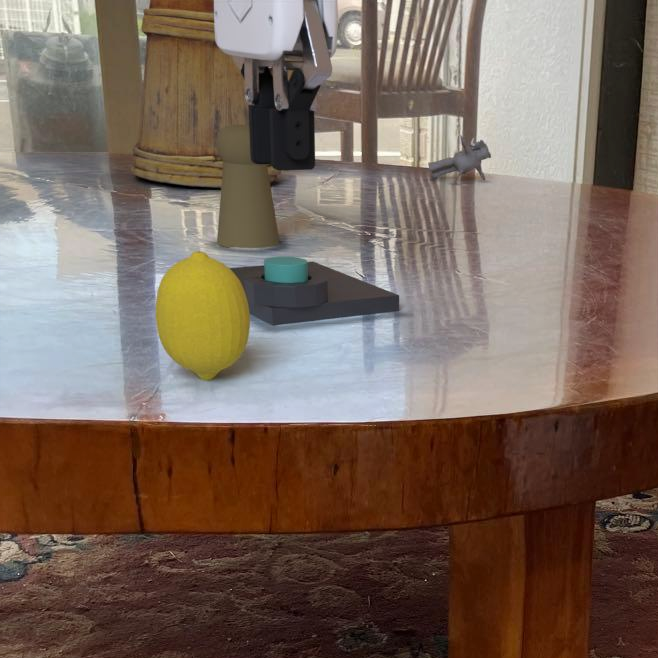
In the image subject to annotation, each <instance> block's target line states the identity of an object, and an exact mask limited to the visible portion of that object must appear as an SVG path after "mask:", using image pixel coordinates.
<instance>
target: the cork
mask: <svg viewBox="0 0 658 658" xmlns="http://www.w3.org/2000/svg"><path fill="white" fill-rule="evenodd" d="M216 148H217V151H218V154H219V156H220V157H221V159H222V160H223V171H222V185H221V188H220V199H219V210H218V211H219V212H218V226H217V236H216V237H217V239H216V244H217V245H218V246H221V247H223V248H224V247H225V248H239V249H240V248H241V249H242V248H243V249H263V248H272V247H276V246H278V245H280V244H281V242H280V235H279V231H278V224H277V217H276V211H275V205H274V199H273V193H272V192H273V191H272V187H271V186H272V185H270V180H269V173H268V167H267V164H255V163H253V162H252V161H251V156H250V133H249V125H230V126H226V127H223V128H222V129H220V131H219V132H218V134H217V138H216Z"/></svg>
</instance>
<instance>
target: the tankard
mask: <svg viewBox="0 0 658 658" xmlns="http://www.w3.org/2000/svg"><path fill="white" fill-rule="evenodd" d="M148 6H149V7H148V8H144V9H143V16H142V23H141V27H140V29H141V32H142V33H143V34H144V35H146V41H145V56H144V69H143V70H144V71H143V83H142V96H141V109H140V119H139V130H138V140H137V142H135V144H134V146H132V149H131V151H132V153H133V154H132V156H131V157H132V158H131V161H132V165H131V168H130V172H131V174H132V175H134V176H135V177H138V178H142V179H144V180H148V181H153V182H157V183H162V184H171V185H179V186H184V187H185V186H186V187H194V188H207V189H209V188H210V189H221V185H222V171H223V160H222V159H221V157H220V156H219V154H218V151H217V148H216V138H217V134H218V132H219V131H220V129H222V128H223V127H226V126H230V125H249V110H248V105H254V104H248V103H247V102H246V99H245V80H244V78H243V76H242V74H241V71H240V70H239V69H238V67H237V66H236V65H235V64H234V62H233V58H232V55H228V54H226V53H224V52H223V51H222V50H221V49H220V48H219V47H218V45H217V44H216V41H215V28H214V0H149V5H148ZM287 61H303V60H297V59H290V58H287ZM269 69H270V71H271V74H272V76H273V67H269ZM293 71H294V70H288V81H289V79H290V77H291V74H292V72H293ZM267 167H268V173H269V180H270V186H272V185H271V184H273V183H274V182H275V180H276V178H277V177H278V175H281V174H282V170H276V169H274V168H273V167H272V165H271V164H267Z"/></svg>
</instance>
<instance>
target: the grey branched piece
mask: <svg viewBox="0 0 658 658" xmlns="http://www.w3.org/2000/svg"><path fill="white" fill-rule="evenodd" d="M459 138H460V144H461V146H462V147H463V150H460V151H457V152H455V153H454V155H453V157H450V156H449V157H446V158H442V159H440V160H437V161H432V162H427V164H428V169H429V171H430V172H431V175H432V177H433V179H438V178H440V177H442V176H444V175H447V174H451V173H454V172H457V173H458V174H457V177H456V178H455V179H454V183H456V182H457V180H458V179H459V178H460V177H461V176H462V174H463V175H465V174H467V173H468V172H470V171H471V170H473V169H475V170H476V172H478V175H479V176H480V178H481V179H482V180H483V181H485V180H486V176H485V173H484V172H483V170H482V161H484V160H486V159H487V160H488V159H491V158H492V154H491V152H490V150H489V147H488V145H487V144H486V142H485V141H484V140H483V139H480V140H479V141H475V142H474V140H475V137H472V139H471V141H470V146H469V145H467V142H466V140H465V138H464V137H463V135H462V134H461V135H460V137H459Z"/></svg>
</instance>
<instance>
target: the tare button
mask: <svg viewBox="0 0 658 658" xmlns="http://www.w3.org/2000/svg"><path fill="white" fill-rule="evenodd" d="M263 262H264V263H263V265H264V271H265V280H267V281H273V282H284V283H295V282H305V281H308V262H309V261H308V260H307V259H305V258H302V257H296V256H271V257H267V258H265V259H264V260H263Z"/></svg>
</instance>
